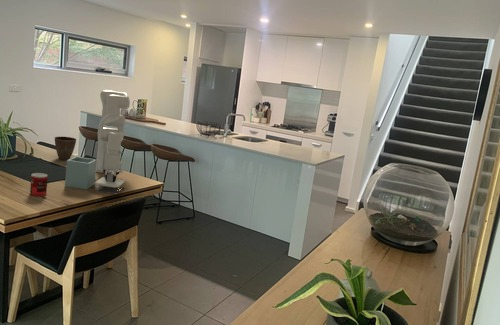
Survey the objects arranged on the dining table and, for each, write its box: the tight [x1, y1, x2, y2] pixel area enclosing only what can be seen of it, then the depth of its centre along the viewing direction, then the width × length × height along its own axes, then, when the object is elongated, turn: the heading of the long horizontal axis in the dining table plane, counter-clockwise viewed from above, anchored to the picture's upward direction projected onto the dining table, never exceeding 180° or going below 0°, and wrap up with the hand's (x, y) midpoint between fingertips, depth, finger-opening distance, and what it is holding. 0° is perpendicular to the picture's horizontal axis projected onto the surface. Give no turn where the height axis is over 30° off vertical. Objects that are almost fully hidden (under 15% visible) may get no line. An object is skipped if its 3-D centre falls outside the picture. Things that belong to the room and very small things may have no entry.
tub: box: [64, 156, 97, 190], centre depth 235 cm, size 13×13×16 cm
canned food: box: [29, 172, 49, 197], centre depth 208 cm, size 8×8×11 cm
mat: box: [93, 185, 123, 195], centre depth 238 cm, size 14×14×1 cm
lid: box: [94, 172, 126, 188], centre depth 236 cm, size 14×14×6 cm
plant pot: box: [54, 136, 77, 161], centre depth 290 cm, size 15×15×16 cm
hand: (110, 180), depth 236 cm, fingers closed on lid, 3 cm apart
